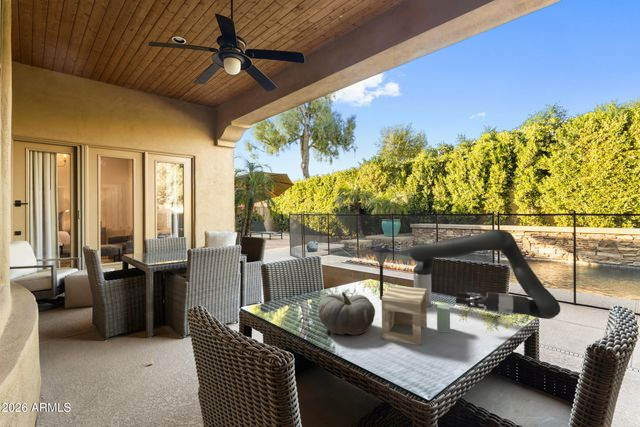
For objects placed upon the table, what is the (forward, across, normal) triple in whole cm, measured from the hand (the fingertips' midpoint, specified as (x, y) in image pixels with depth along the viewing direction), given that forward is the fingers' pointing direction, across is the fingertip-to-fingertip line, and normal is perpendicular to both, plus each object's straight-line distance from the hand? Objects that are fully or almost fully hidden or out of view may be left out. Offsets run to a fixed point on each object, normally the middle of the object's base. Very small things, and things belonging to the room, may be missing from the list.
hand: (456, 297), depth 137 cm
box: (+19, +11, +15) cm, 26 cm away
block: (+5, +1, +15) cm, 15 cm away
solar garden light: (+41, -33, +16) cm, 55 cm away
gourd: (+44, +17, +16) cm, 49 cm away
